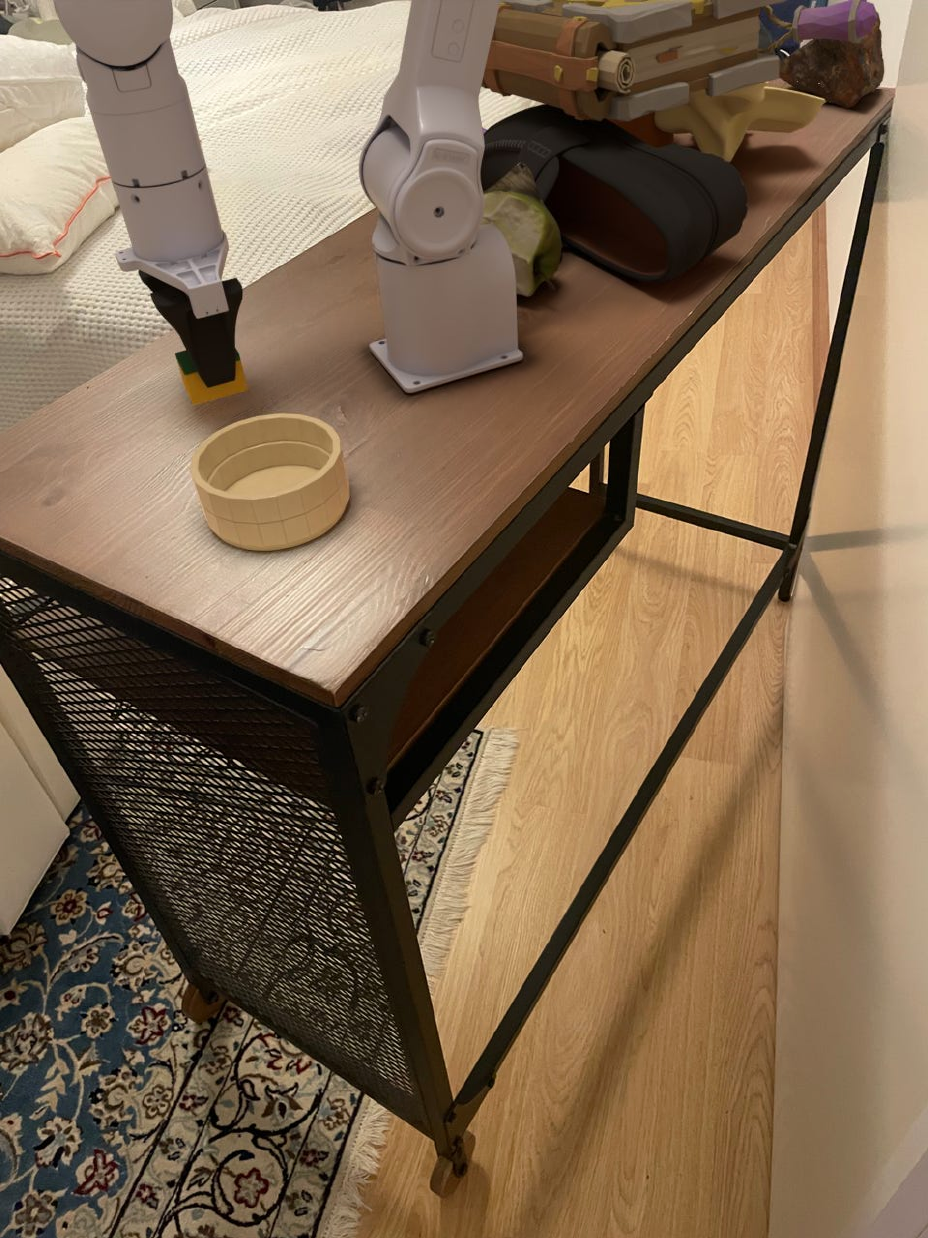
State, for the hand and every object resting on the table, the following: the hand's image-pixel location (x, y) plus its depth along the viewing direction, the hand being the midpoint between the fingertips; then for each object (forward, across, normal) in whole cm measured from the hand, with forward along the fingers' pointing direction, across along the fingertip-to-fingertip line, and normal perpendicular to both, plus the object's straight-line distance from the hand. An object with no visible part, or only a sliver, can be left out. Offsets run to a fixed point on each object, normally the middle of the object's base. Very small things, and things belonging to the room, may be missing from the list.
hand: (214, 371), depth 67 cm
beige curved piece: (-3, -22, +57) cm, 61 cm away
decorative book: (-6, -4, +45) cm, 46 cm away
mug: (+3, -30, +52) cm, 60 cm away
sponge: (+1, 0, 0) cm, 1 cm away
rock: (+1, -29, +75) cm, 80 cm away
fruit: (-2, -8, +29) cm, 30 cm away
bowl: (+3, +14, 0) cm, 14 cm away
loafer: (-2, -12, +40) cm, 42 cm away
